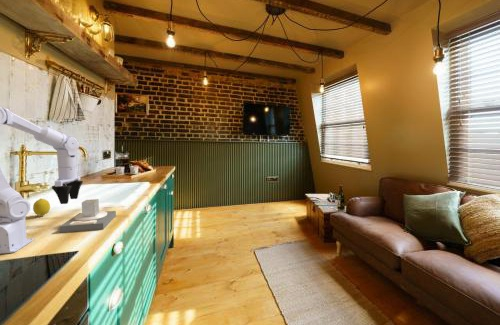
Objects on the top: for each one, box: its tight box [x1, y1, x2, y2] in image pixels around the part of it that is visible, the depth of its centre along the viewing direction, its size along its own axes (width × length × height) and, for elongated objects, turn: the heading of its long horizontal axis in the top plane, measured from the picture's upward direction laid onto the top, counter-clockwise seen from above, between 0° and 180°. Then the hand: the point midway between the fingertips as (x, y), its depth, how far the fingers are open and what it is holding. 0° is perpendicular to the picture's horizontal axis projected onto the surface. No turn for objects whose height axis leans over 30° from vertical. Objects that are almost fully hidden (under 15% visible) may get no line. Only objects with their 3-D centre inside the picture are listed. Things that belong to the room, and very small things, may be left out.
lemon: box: [32, 198, 51, 217], centre depth 101 cm, size 6×6×8 cm
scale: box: [59, 210, 117, 234], centre depth 93 cm, size 16×14×3 cm
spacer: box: [81, 198, 100, 217], centre depth 94 cm, size 4×4×6 cm
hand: (69, 201), depth 91 cm, fingers open, 7 cm apart
